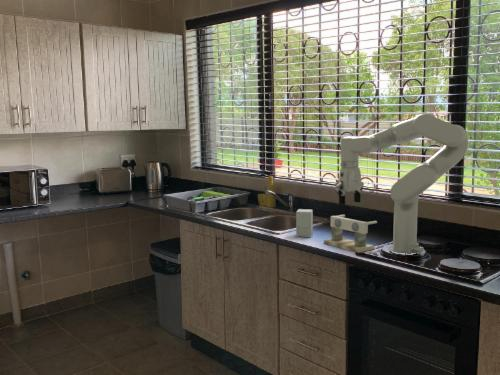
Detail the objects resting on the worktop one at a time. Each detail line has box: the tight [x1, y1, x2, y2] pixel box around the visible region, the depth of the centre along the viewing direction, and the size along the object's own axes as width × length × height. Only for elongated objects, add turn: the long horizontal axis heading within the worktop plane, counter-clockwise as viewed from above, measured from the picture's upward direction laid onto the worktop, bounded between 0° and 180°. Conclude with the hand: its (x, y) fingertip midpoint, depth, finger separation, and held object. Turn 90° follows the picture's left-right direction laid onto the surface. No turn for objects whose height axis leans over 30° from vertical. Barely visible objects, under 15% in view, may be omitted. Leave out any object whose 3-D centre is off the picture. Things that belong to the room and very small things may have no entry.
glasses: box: [330, 214, 378, 235], centre depth 225 cm, size 20×9×5 cm, turn 36°
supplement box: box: [295, 208, 314, 238], centre depth 246 cm, size 7×7×13 cm
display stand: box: [323, 227, 375, 254], centre depth 224 cm, size 21×10×8 cm, turn 36°
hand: (349, 203), depth 222 cm, fingers open, 9 cm apart
